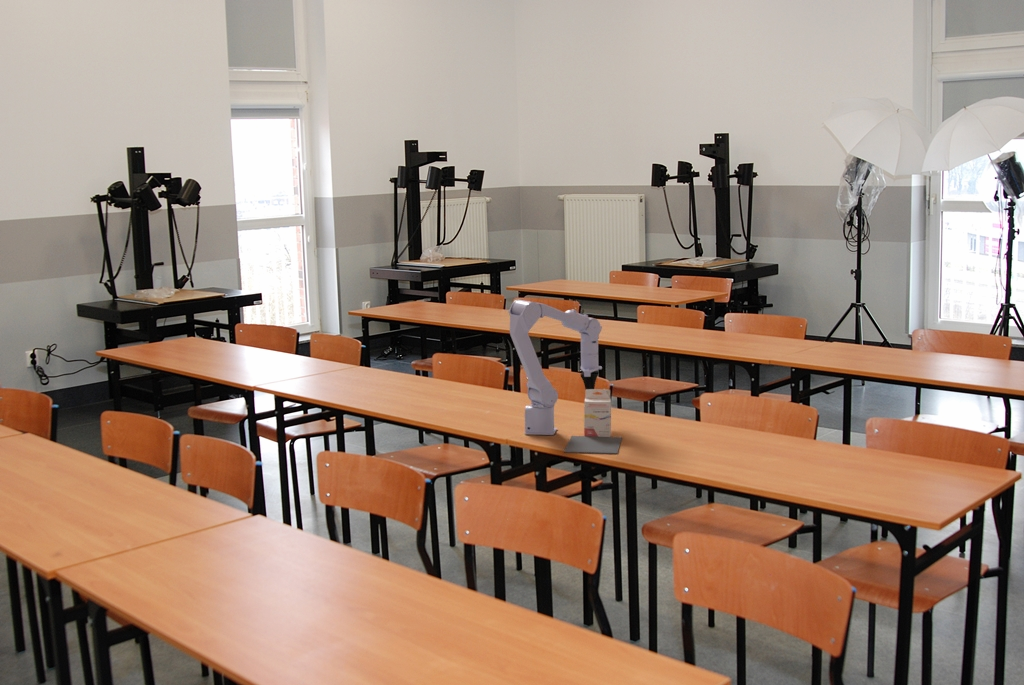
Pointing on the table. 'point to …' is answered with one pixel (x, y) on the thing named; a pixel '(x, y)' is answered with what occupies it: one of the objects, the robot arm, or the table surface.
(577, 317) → the robot arm
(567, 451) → the mat
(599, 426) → the ink cartridge box
